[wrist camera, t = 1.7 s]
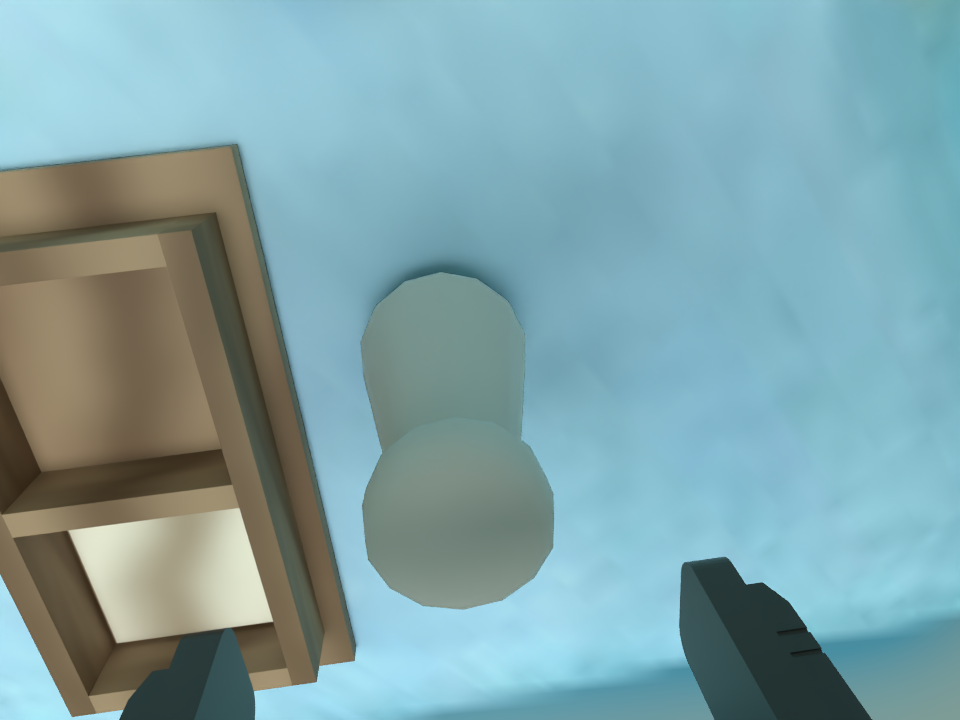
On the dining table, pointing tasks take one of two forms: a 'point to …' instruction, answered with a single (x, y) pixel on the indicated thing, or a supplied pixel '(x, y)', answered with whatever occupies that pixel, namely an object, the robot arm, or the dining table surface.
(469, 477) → the salt shaker
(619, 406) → the dining table surface
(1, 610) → the dining table surface
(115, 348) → the slot caddy
